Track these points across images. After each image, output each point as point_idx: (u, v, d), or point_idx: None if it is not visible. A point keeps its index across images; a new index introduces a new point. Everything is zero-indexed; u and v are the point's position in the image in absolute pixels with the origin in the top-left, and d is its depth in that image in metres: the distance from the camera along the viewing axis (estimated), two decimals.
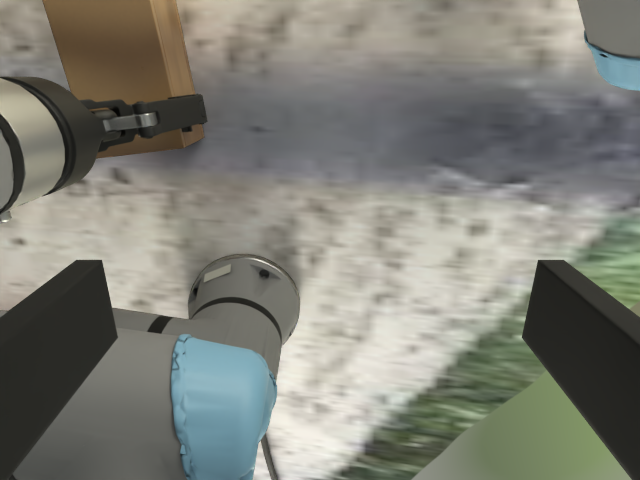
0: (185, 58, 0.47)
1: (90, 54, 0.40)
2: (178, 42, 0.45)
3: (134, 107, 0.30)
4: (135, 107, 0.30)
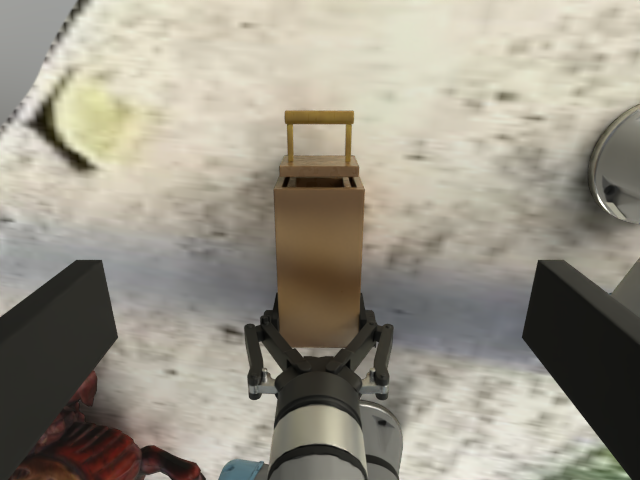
0: None
1: (302, 278, 0.49)
2: None
3: (380, 381, 0.40)
4: (381, 381, 0.40)
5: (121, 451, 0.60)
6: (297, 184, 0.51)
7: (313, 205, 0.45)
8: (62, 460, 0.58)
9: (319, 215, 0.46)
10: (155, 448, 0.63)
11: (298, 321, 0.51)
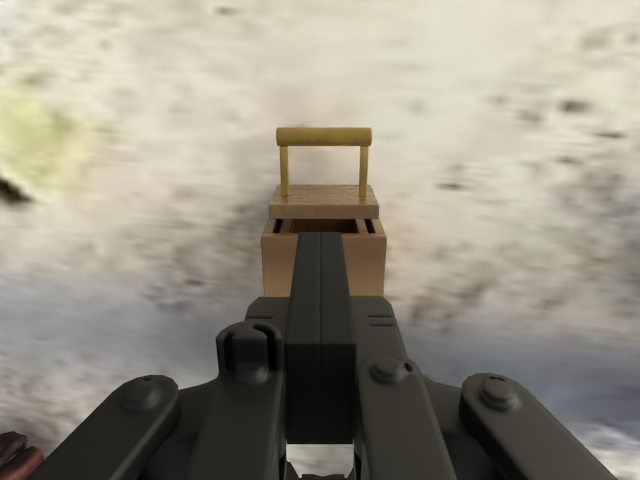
0: None
1: None
2: None
3: None
4: None
5: None
6: (294, 222, 0.39)
7: None
8: None
9: None
10: None
11: None
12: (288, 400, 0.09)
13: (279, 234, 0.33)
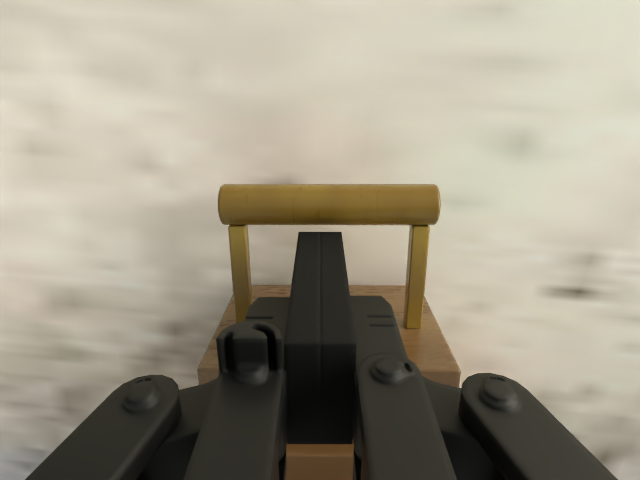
0: None
1: None
2: None
3: None
4: None
5: None
6: None
7: None
8: None
9: None
10: None
11: None
12: (288, 400, 0.09)
13: None
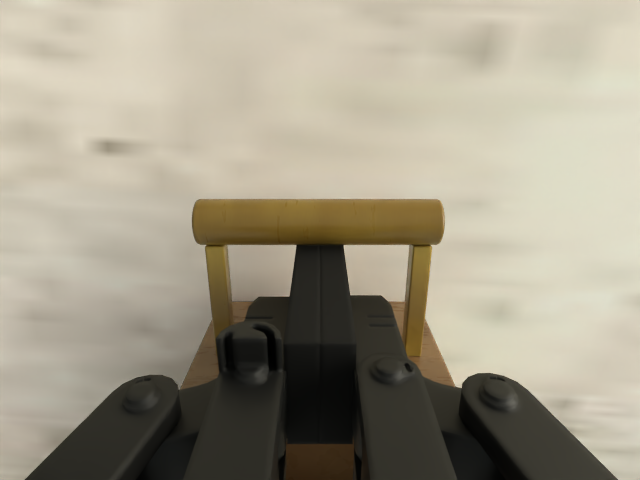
0: None
1: None
2: None
3: None
4: None
5: None
6: None
7: None
8: None
9: None
10: None
11: None
12: (288, 400, 0.09)
13: None
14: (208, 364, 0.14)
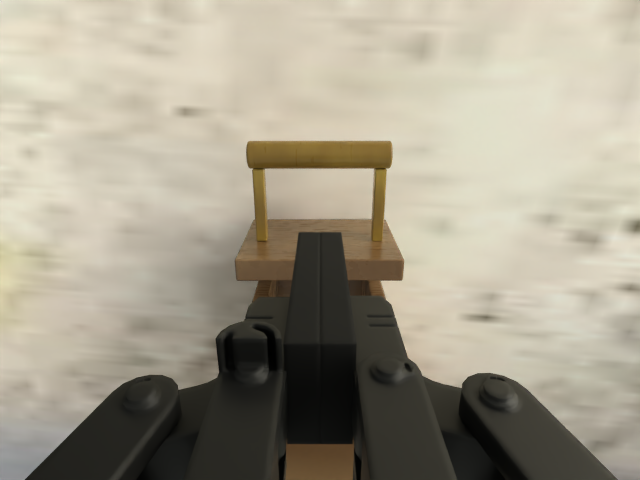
0: None
1: None
2: None
3: None
4: None
5: None
6: None
7: (309, 449, 0.25)
8: None
9: (320, 464, 0.25)
10: None
11: None
12: (288, 400, 0.09)
13: None
14: (252, 244, 0.23)
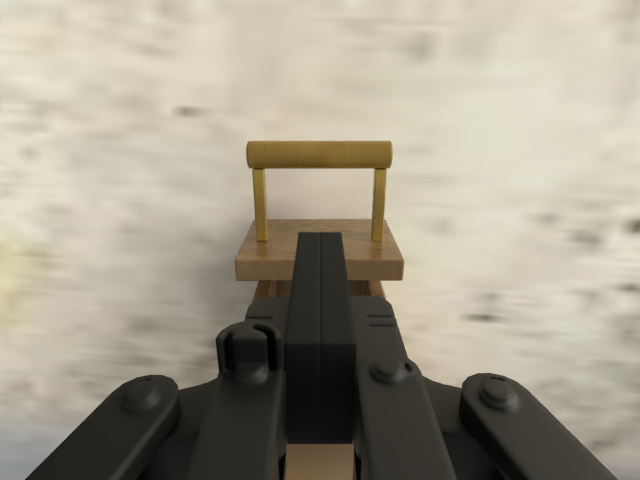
0: None
1: None
2: None
3: None
4: None
5: None
6: None
7: (309, 449, 0.25)
8: None
9: (320, 464, 0.25)
10: None
11: None
12: (288, 400, 0.09)
13: None
14: (252, 244, 0.23)
